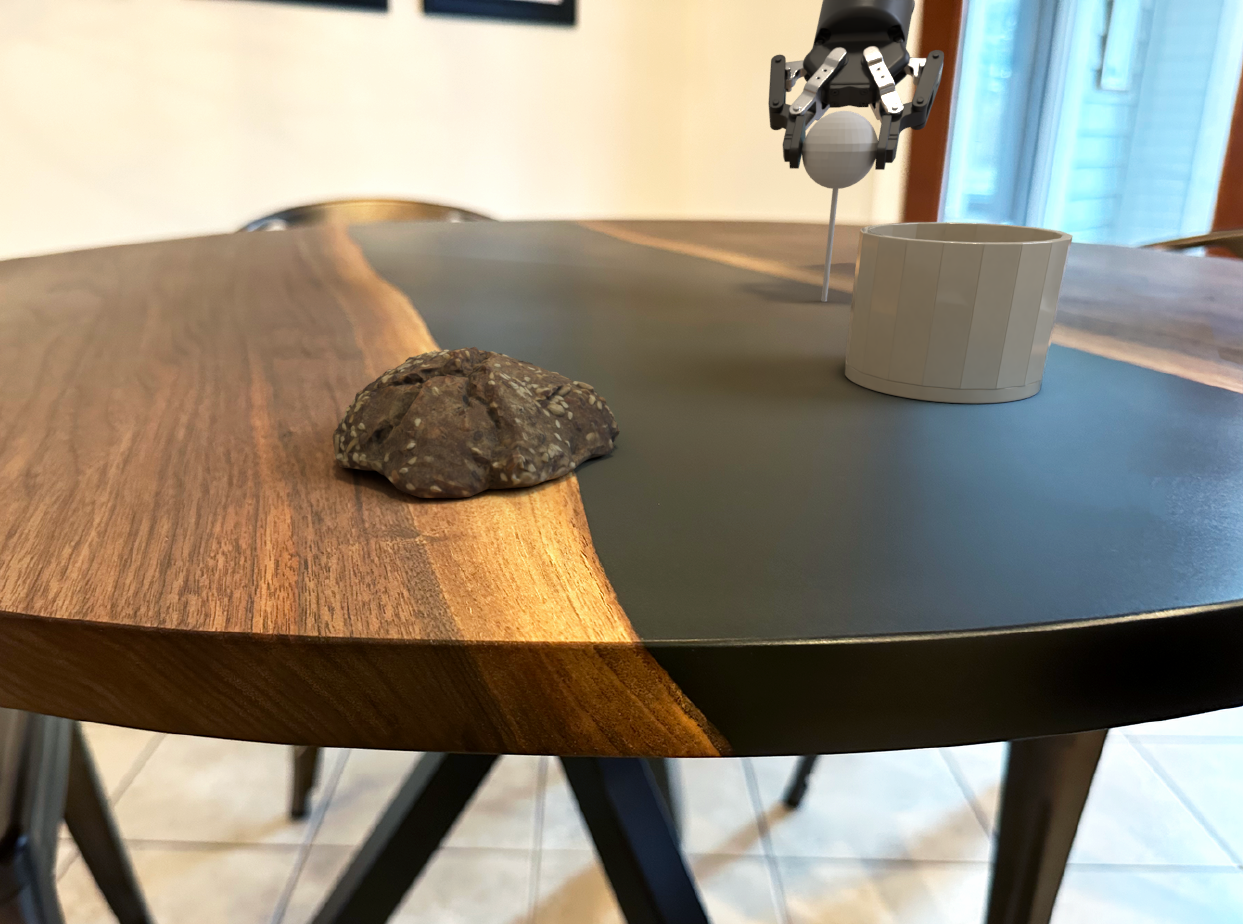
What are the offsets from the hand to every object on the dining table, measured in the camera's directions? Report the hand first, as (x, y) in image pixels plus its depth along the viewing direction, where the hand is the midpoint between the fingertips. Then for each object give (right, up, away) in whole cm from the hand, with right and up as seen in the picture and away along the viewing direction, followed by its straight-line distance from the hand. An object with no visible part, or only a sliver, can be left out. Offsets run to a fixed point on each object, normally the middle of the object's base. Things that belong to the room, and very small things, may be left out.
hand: (836, 161), depth 75 cm
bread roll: (-27, -26, -30) cm, 48 cm away
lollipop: (+1, -10, +6) cm, 12 cm away
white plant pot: (+1, -20, -18) cm, 27 cm away
